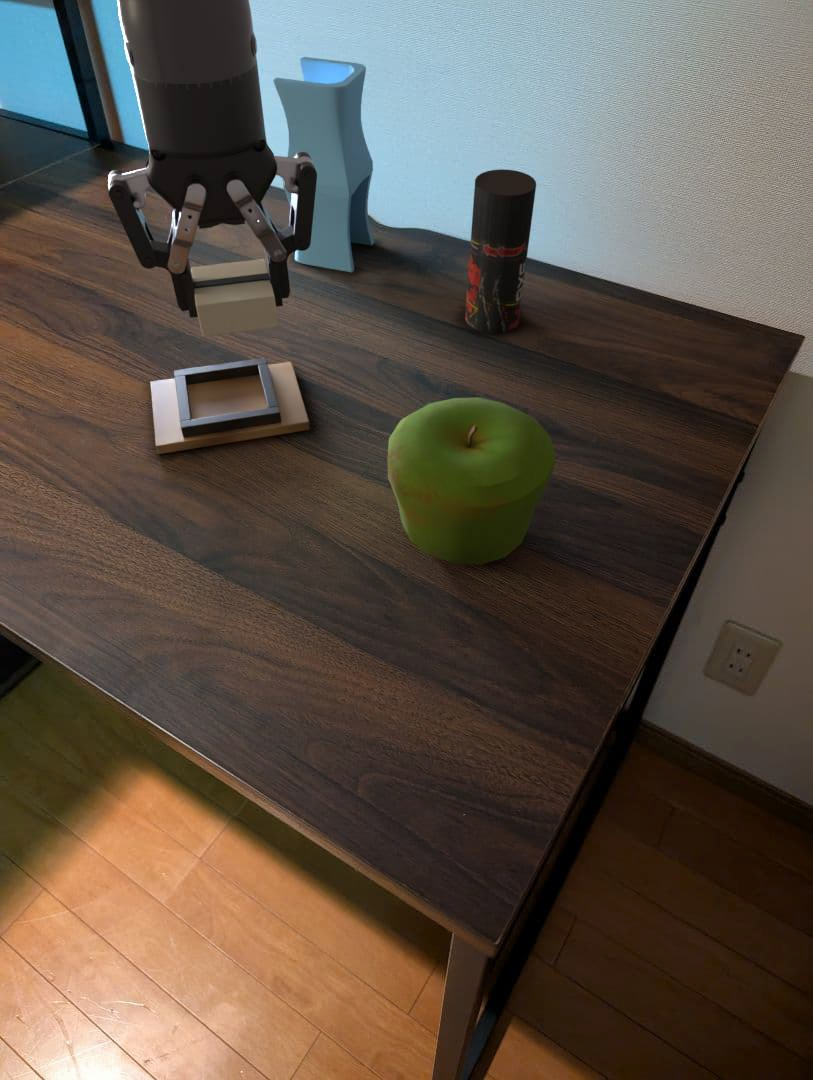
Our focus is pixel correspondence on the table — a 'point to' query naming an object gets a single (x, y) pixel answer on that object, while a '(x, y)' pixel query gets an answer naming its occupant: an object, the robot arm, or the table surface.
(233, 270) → the ivory pad
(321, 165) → the vase
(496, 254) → the deodorant
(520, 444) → the apple
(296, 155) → the robot arm
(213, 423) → the base pad
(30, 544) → the table surface
